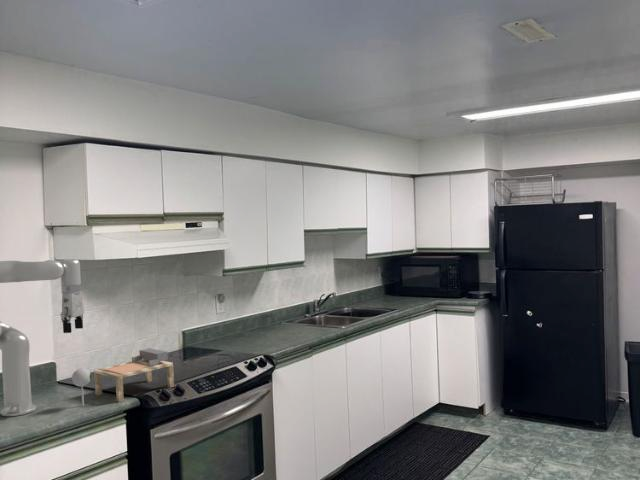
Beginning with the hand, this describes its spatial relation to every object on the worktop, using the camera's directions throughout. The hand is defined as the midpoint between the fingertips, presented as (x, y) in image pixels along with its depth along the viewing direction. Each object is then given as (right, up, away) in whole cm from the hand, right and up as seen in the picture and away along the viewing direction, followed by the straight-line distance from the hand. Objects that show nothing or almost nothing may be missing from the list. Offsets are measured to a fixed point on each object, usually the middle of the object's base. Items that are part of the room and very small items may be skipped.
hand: (73, 330), depth 244 cm
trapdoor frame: (+22, -28, +11) cm, 37 cm away
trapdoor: (+23, -18, +11) cm, 31 cm away
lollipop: (+7, -29, -8) cm, 31 cm away
